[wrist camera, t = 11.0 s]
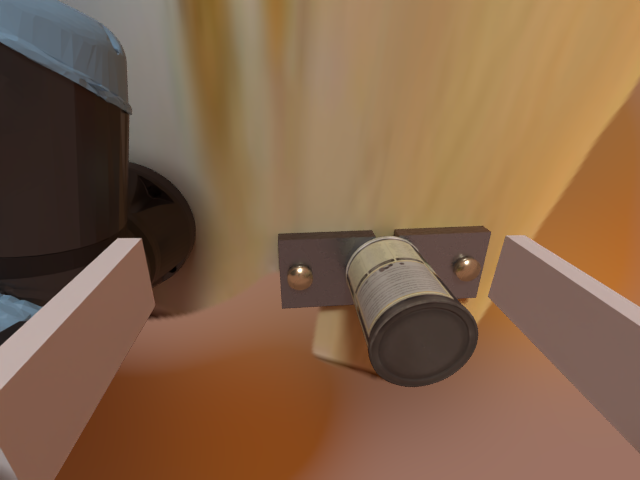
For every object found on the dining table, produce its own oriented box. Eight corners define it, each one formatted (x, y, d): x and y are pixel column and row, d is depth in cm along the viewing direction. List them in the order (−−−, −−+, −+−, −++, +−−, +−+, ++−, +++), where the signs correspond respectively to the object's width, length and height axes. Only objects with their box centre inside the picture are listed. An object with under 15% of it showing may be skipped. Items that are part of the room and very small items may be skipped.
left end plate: (282, 299, 46) (282, 313, 44) (278, 233, 42) (277, 244, 39) (367, 295, 47) (372, 307, 45) (371, 230, 43) (377, 240, 40)
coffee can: (438, 257, 43) (501, 329, 31) (390, 314, 47) (430, 400, 34) (376, 220, 40) (417, 281, 28) (329, 283, 44) (347, 365, 31)
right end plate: (388, 294, 48) (394, 306, 45) (394, 229, 43) (401, 239, 41) (468, 289, 49) (479, 301, 46) (482, 226, 44) (495, 235, 42)
